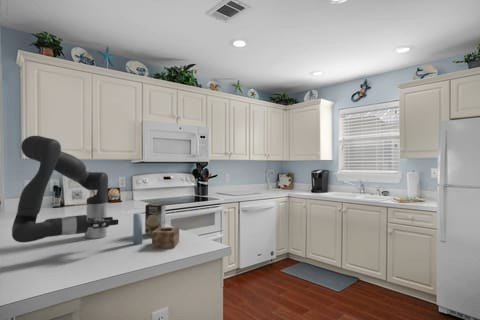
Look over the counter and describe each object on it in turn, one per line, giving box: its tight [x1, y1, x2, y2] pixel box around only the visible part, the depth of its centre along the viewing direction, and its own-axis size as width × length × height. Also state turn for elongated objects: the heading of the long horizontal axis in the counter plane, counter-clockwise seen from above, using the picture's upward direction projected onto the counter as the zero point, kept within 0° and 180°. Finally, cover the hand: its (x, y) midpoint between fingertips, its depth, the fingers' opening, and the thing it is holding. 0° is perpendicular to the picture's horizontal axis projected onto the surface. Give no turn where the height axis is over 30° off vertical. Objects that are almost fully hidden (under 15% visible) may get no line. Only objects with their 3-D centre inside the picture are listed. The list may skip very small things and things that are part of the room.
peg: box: [132, 212, 143, 246], centre depth 133 cm, size 4×4×14 cm
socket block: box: [151, 226, 180, 249], centre depth 131 cm, size 10×10×7 cm
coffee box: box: [144, 203, 166, 237], centre depth 150 cm, size 9×6×16 cm
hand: (115, 220), depth 127 cm, fingers open, 8 cm apart
